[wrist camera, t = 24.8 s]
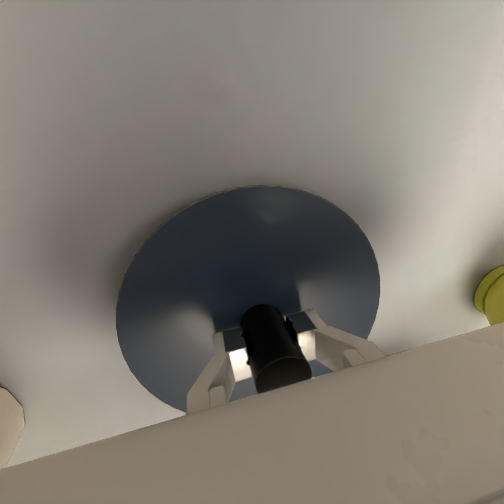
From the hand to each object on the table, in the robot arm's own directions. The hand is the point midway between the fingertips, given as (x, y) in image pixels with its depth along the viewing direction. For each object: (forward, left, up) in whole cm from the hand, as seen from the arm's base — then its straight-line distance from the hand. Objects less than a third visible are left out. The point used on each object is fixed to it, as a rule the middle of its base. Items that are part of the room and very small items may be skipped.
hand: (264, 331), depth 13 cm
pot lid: (0, 0, -1) cm, 1 cm away
